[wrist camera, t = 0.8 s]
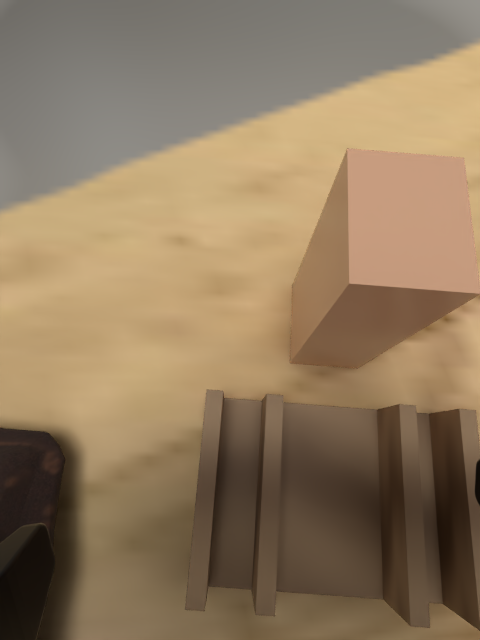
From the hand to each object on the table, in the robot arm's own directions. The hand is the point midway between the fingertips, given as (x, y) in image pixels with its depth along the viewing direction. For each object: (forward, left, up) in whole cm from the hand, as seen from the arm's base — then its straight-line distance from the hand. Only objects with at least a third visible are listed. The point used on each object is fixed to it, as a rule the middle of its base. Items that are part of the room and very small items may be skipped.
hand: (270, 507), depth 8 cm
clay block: (+4, -9, -14) cm, 17 cm away
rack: (-3, -3, -14) cm, 15 cm away
